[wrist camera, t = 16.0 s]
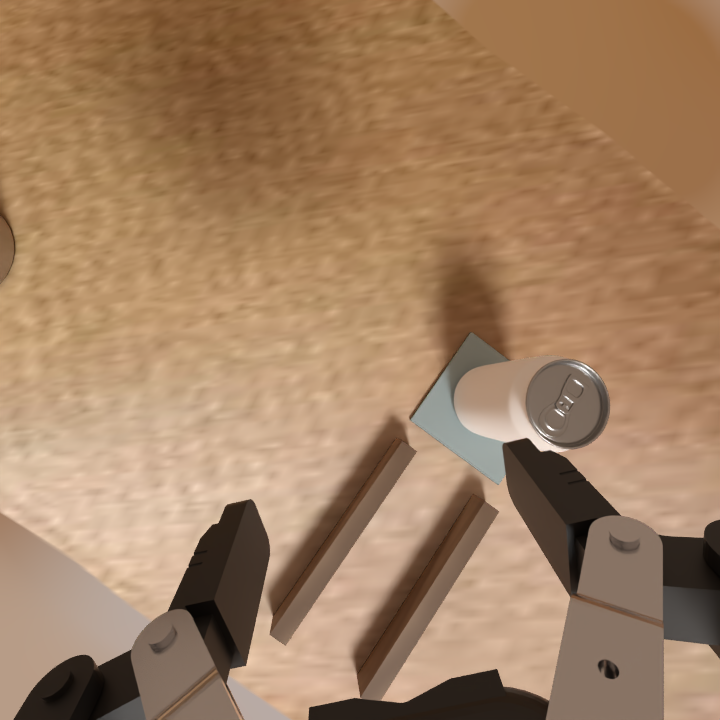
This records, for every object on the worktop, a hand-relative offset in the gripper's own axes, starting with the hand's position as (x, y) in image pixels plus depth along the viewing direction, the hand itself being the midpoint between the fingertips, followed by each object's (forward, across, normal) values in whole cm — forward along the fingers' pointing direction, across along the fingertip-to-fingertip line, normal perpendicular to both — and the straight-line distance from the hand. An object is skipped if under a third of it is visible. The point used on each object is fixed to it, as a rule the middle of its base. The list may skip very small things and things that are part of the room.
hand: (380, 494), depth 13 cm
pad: (+22, -10, +11) cm, 27 cm away
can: (+23, -10, +10) cm, 27 cm away
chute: (+16, +2, +19) cm, 26 cm away
